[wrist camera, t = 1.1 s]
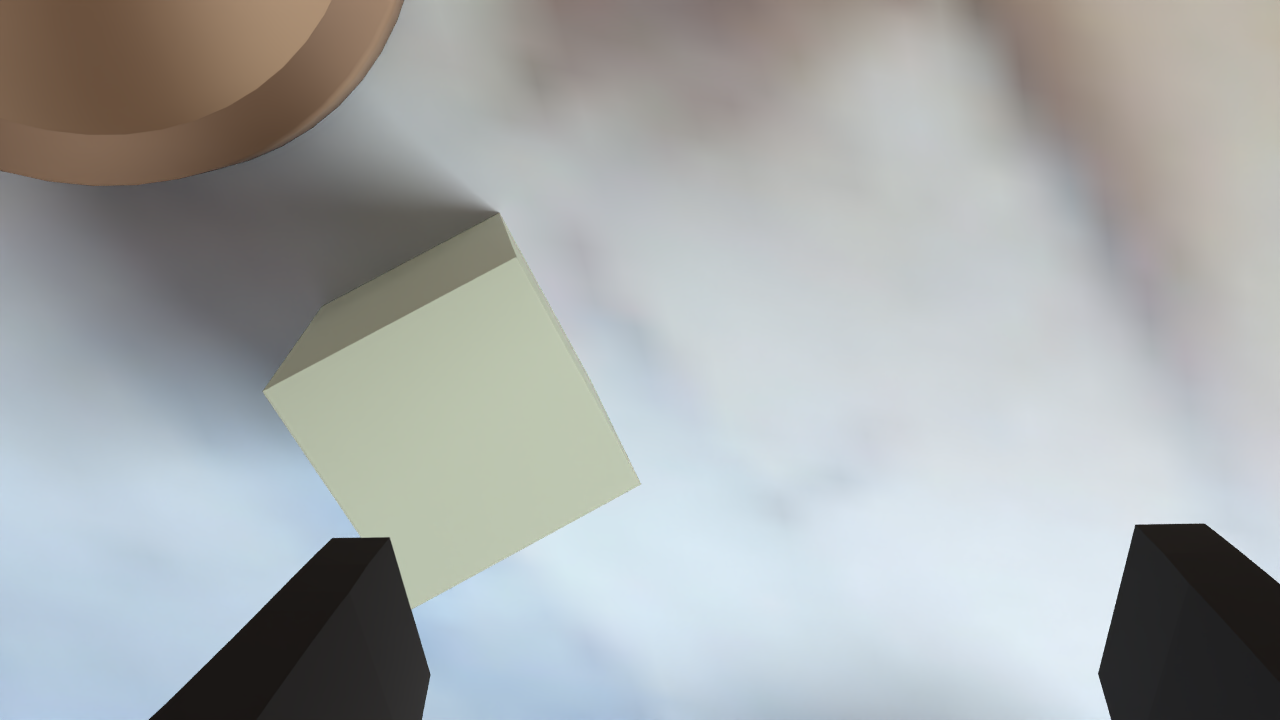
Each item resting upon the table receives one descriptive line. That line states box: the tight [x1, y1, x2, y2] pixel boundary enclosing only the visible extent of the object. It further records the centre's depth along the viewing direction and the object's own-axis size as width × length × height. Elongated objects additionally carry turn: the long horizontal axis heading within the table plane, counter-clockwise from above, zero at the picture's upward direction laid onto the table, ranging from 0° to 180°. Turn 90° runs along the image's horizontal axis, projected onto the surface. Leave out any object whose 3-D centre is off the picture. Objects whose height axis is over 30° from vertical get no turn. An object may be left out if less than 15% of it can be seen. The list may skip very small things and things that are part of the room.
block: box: [262, 213, 641, 610], centre depth 17 cm, size 4×4×6 cm
